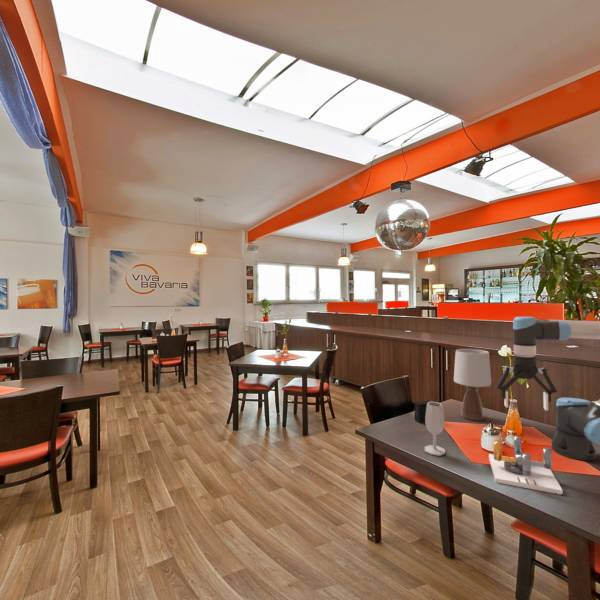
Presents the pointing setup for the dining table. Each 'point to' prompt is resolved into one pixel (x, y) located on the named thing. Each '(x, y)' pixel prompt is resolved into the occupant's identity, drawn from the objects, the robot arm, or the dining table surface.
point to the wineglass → (434, 426)
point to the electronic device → (420, 410)
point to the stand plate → (526, 477)
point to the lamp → (472, 379)
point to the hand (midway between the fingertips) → (525, 408)
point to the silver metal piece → (521, 458)
